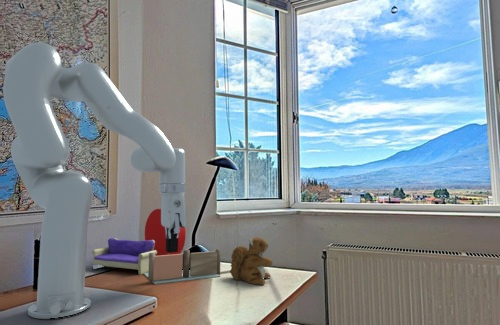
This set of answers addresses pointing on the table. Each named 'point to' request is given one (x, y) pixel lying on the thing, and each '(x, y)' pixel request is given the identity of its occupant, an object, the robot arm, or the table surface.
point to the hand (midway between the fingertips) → (171, 251)
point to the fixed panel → (201, 263)
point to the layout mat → (183, 278)
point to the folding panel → (165, 266)
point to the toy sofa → (125, 254)
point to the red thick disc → (161, 234)
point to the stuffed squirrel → (251, 262)
